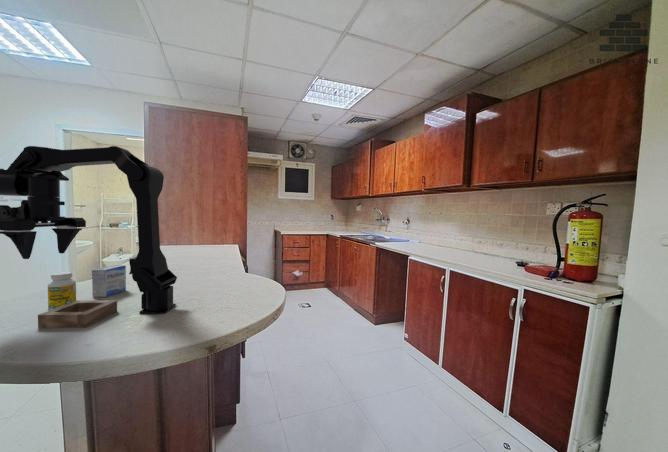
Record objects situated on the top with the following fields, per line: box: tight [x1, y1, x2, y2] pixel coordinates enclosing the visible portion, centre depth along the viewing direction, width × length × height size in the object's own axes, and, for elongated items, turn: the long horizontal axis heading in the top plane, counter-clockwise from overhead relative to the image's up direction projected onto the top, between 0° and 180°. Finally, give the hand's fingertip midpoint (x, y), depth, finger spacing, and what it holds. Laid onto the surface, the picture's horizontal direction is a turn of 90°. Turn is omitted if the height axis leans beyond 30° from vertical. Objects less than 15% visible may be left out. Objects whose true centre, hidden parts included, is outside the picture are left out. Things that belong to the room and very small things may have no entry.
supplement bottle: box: [47, 271, 77, 311], centre depth 71 cm, size 5×5×10 cm
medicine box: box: [91, 264, 127, 298], centre depth 85 cm, size 8×4×9 cm, turn 179°
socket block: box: [37, 299, 118, 329], centre depth 65 cm, size 10×10×3 cm
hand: (45, 255), depth 69 cm, fingers open, 9 cm apart
